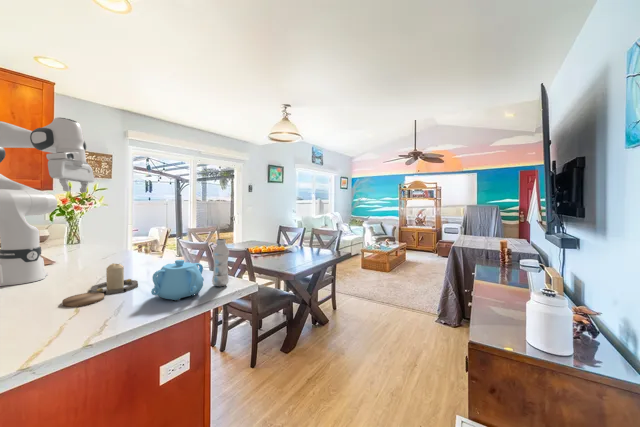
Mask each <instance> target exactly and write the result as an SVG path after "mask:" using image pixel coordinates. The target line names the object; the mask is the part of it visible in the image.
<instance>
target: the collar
mask: <svg viewBox="0 0 640 427" xmlns="http://www.w3.org/2000/svg"><path fill="white" fill-rule="evenodd" d="M124 285H127V286H124V287H123V288H118V289H111V290H107V289H104V288H105V287H106V288H107V281H106V282H102V283H98V284H94V285H92V286H91V287H90V290H89V293H92V292H99V293H104V296H105V295H107V296H108V295H114V294H119V293H126V292H128V291H131V290H134V289H136V288H139V282H138V280H135V279H134V280H133V279H132V278H128V279H124Z"/></svg>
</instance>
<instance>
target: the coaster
mask: <svg viewBox="0 0 640 427" xmlns="http://www.w3.org/2000/svg"><path fill="white" fill-rule="evenodd" d="M104 299H105V295H104V293H99V292H92V293H90V292H85V293H77V294H75V295H71V296H68V297H65V298H64V299H62V303H61V305H62V306H63V307H66V308H76V307H77V308H78V307H83V306H89V305H93V304H96V303H99V302H102V301H103V300H104Z"/></svg>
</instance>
